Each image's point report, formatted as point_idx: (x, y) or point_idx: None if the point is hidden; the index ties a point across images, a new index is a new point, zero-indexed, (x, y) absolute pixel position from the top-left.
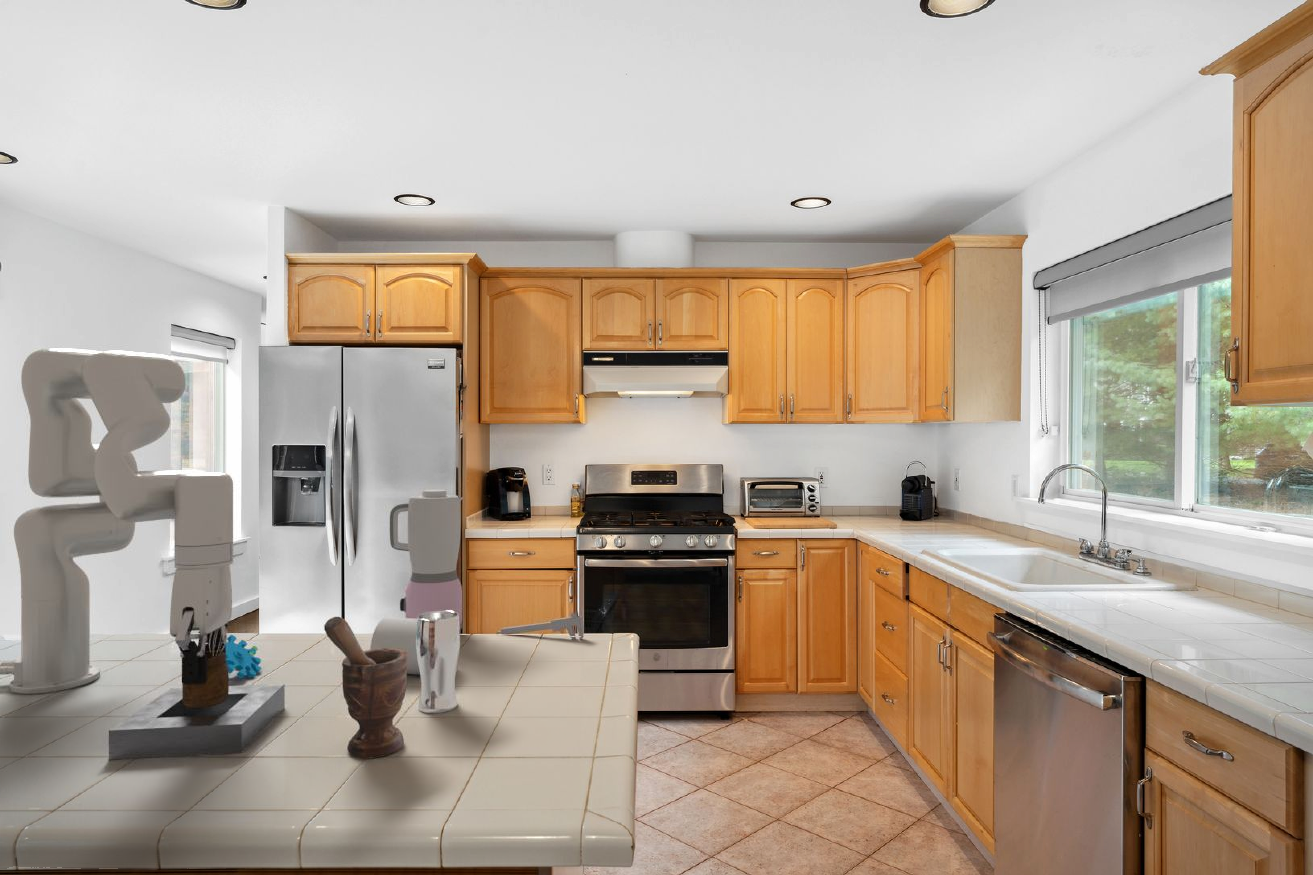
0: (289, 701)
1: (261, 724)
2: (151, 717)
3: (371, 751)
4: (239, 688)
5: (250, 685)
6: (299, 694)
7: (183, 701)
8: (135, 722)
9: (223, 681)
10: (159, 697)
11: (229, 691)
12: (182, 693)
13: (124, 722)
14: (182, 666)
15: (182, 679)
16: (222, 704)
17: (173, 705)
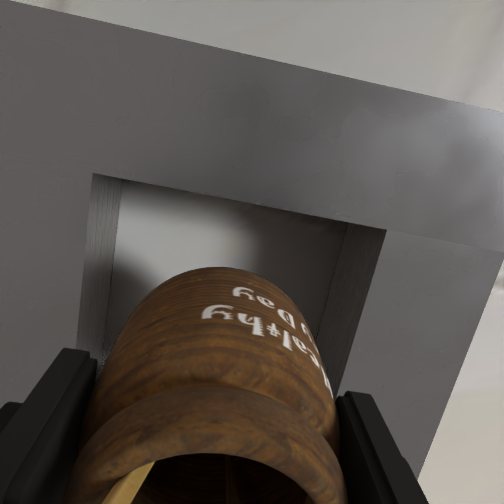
0: (425, 478)
1: None
2: (103, 150)
3: None
4: (401, 419)
5: (424, 450)
6: (482, 495)
7: (168, 281)
8: (48, 91)
9: (165, 493)
10: (420, 104)
11: (375, 391)
12: (182, 286)
13: (55, 34)
14: (9, 425)
15: (54, 362)
16: (332, 350)
17: (264, 204)
